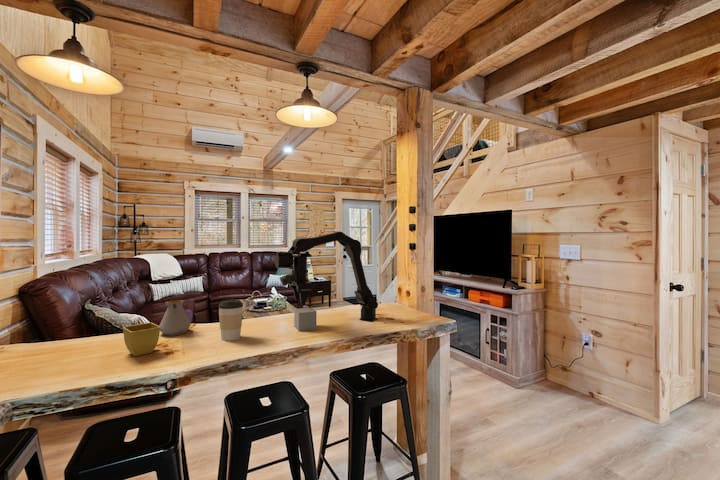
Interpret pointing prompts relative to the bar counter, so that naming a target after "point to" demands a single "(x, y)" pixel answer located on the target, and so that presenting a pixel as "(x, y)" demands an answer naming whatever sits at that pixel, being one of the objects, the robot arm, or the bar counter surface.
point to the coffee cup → (230, 319)
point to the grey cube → (305, 319)
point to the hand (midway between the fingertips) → (299, 303)
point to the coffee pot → (174, 319)
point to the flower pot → (141, 338)
